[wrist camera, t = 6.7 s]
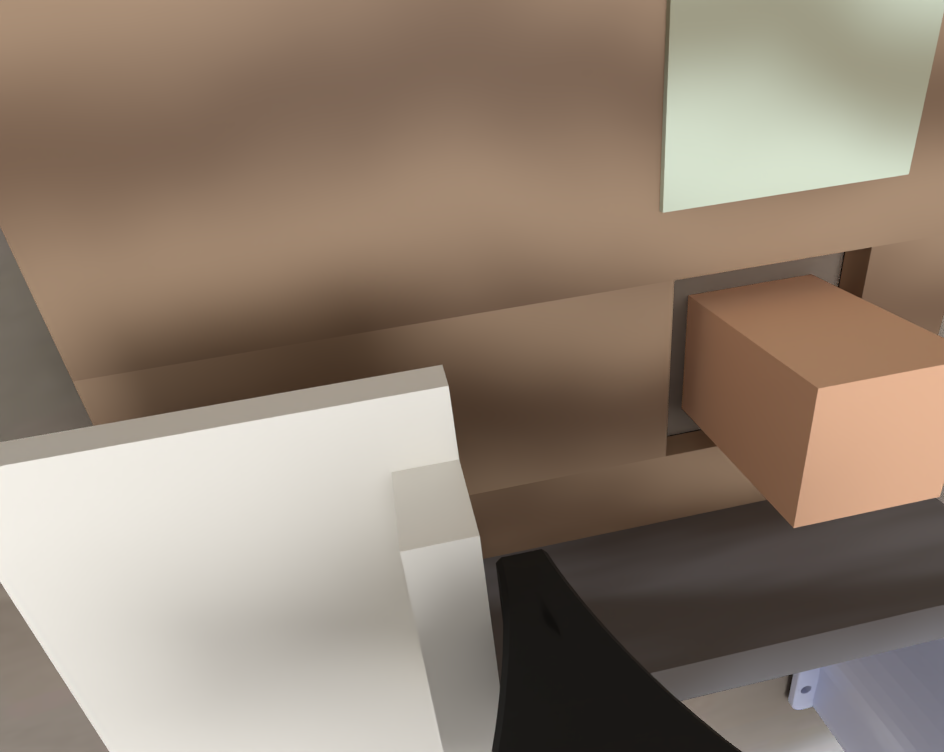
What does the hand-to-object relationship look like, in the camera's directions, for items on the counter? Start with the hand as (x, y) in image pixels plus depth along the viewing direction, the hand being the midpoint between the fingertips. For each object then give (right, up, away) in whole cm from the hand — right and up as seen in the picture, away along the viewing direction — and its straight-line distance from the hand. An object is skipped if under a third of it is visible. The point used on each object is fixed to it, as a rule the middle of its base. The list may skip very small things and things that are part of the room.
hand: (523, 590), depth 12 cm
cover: (-5, -2, +1) cm, 5 cm away
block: (+8, +5, +8) cm, 12 cm away
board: (+1, +6, +6) cm, 9 cm away
